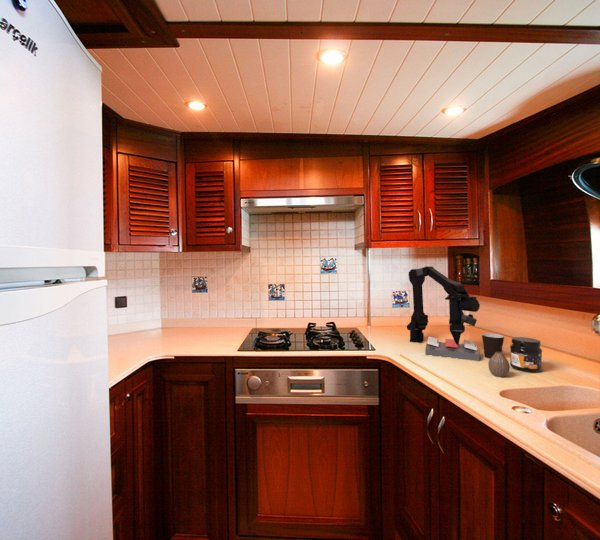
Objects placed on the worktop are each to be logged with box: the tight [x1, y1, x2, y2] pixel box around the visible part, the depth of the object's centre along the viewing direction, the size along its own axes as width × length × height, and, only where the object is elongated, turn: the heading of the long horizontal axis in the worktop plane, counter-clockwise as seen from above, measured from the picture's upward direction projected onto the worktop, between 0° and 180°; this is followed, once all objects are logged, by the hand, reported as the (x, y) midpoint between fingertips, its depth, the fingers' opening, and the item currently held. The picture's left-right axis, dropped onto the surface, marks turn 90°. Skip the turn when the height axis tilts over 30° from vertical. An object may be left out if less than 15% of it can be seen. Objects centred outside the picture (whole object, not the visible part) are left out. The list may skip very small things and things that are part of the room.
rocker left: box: [426, 336, 440, 347], centre depth 155 cm, size 5×11×1 cm, turn 156°
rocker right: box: [462, 339, 478, 351], centre depth 148 cm, size 5×11×1 cm, turn 156°
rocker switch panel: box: [424, 341, 480, 362], centre depth 150 cm, size 22×16×3 cm
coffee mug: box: [481, 332, 505, 360], centre depth 144 cm, size 12×9×10 cm
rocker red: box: [444, 338, 457, 347], centre depth 152 cm, size 5×11×1 cm, turn 155°
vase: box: [488, 352, 511, 378], centre depth 120 cm, size 7×7×9 cm
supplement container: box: [509, 336, 543, 374], centre depth 128 cm, size 10×10×12 cm
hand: (457, 342), depth 150 cm, fingers open, 9 cm apart
